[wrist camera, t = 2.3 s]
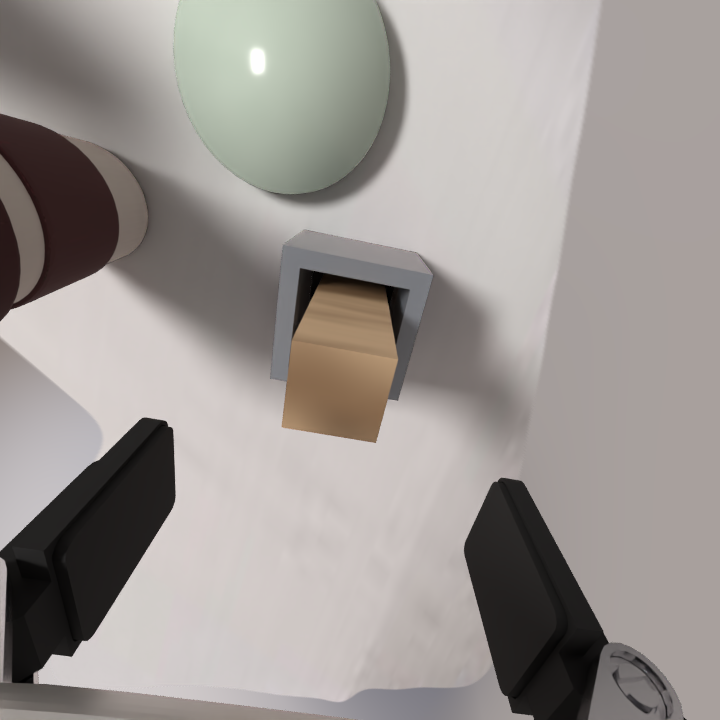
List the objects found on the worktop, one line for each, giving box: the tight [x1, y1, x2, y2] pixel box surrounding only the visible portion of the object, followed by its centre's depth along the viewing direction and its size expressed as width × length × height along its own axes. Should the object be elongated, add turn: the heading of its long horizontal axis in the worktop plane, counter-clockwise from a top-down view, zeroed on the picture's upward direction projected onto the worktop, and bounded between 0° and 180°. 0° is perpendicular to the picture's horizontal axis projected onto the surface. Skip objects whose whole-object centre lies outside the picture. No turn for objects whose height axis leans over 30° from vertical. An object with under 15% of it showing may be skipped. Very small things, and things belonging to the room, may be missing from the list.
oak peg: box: [282, 273, 398, 443], centre depth 20 cm, size 4×4×14 cm
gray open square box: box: [270, 230, 433, 401], centre depth 24 cm, size 8×8×7 cm
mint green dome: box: [173, 0, 390, 194], centre depth 21 cm, size 12×12×1 cm
